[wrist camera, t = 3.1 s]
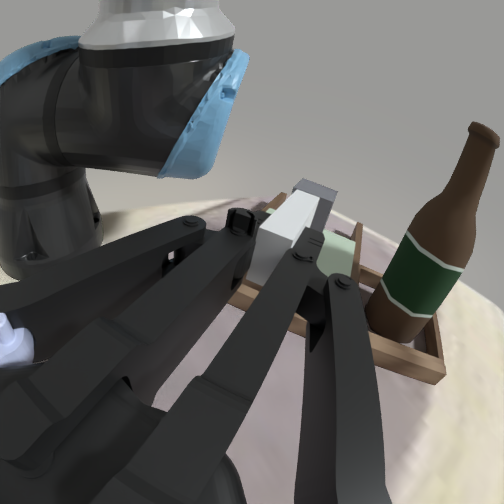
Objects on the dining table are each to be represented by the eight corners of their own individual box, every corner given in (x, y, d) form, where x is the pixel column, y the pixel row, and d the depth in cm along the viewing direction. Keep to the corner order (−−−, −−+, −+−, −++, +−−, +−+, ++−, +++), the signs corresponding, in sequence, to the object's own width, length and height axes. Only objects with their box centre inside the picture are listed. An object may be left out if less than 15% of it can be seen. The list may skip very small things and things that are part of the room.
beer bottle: (350, 305, 30) (438, 100, 17) (390, 295, 33) (468, 126, 20) (388, 355, 25) (511, 133, 11) (425, 336, 28) (524, 157, 15)
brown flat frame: (198, 288, 28) (201, 265, 26) (277, 207, 48) (281, 192, 46) (434, 385, 22) (452, 368, 20) (417, 266, 42) (425, 252, 40)
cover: (227, 252, 28) (243, 170, 23) (268, 211, 38) (284, 151, 33) (343, 302, 25) (383, 223, 21) (353, 245, 36) (378, 186, 31)
